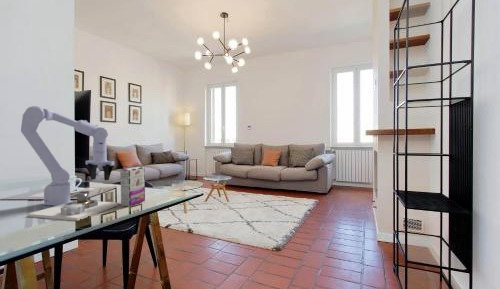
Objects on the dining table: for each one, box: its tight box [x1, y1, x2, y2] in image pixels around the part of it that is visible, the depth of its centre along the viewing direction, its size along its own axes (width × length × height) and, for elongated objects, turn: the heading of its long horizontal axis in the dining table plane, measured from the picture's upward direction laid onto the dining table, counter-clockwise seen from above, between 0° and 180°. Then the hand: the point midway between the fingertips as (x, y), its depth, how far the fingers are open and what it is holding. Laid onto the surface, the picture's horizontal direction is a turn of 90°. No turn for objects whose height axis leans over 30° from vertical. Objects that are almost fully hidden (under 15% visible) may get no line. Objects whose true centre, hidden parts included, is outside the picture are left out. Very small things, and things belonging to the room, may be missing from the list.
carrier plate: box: [27, 199, 120, 222], centre depth 105 cm, size 22×22×4 cm
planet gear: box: [72, 192, 92, 205], centre depth 108 cm, size 7×7×5 cm
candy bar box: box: [119, 166, 146, 207], centre depth 116 cm, size 11×5×16 cm, turn 168°
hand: (100, 179), depth 124 cm, fingers open, 7 cm apart
